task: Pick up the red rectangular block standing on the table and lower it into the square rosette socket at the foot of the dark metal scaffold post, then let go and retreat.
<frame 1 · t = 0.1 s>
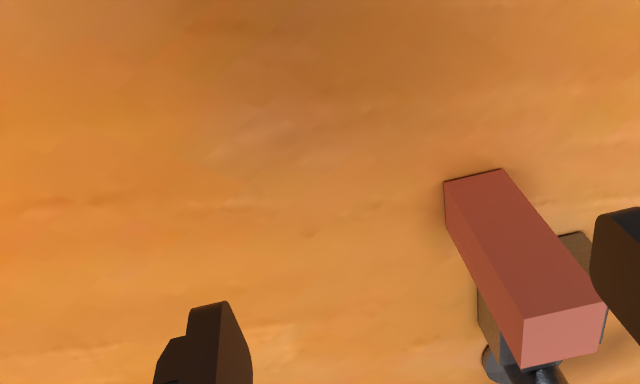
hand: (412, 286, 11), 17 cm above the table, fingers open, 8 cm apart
red rectangular block: (473, 199, 31), on the table
rosette post: (522, 352, 42), on the table
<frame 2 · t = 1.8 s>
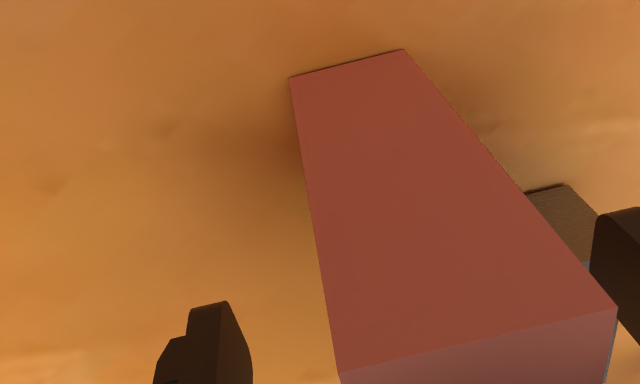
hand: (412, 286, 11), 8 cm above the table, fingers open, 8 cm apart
red rectangular block: (355, 116, 17), on the table
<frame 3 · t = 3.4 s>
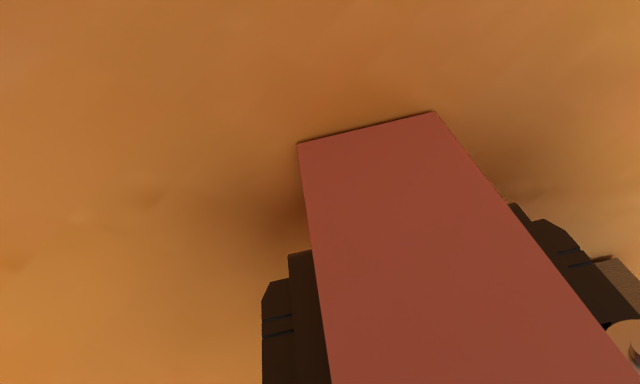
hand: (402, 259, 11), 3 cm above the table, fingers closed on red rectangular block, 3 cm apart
red rectangular block: (375, 186, 14), on the table, touching gripper
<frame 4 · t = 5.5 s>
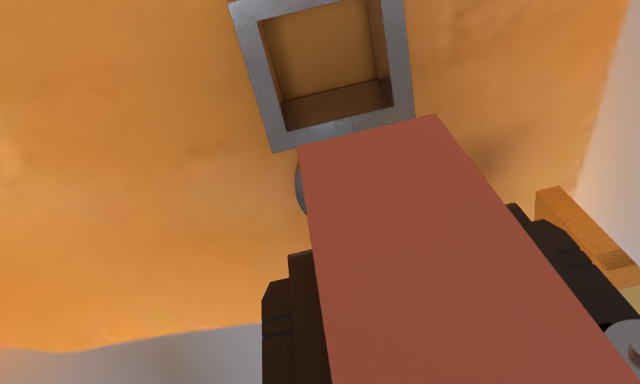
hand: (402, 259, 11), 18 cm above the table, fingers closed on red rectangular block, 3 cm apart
red rectangular block: (375, 188, 14), point 15 cm above the table, touching gripper
rosette post: (348, 179, 31), on the table
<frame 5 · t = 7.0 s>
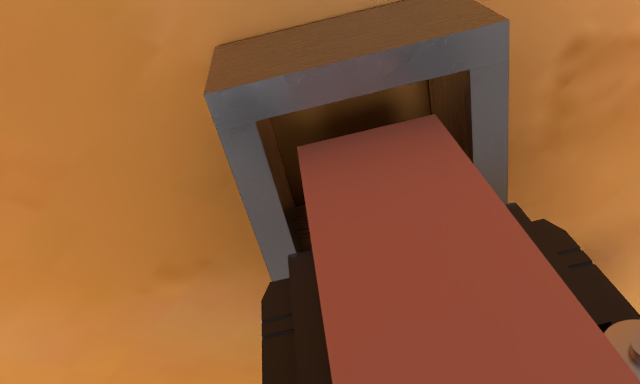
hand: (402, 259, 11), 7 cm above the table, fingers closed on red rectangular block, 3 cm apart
red rectangular block: (375, 188, 14), point 4 cm above the table, touching gripper
rosette post: (386, 300, 22), on the table
when the fingers open (5 cm above the table, at t = 8.1 s): red rectangular block drops 2 cm, resting in rosette post.
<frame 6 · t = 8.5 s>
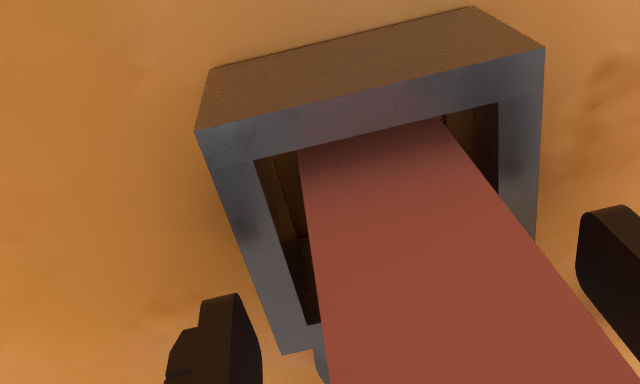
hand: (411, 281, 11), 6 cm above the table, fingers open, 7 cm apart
red rectangular block: (361, 153, 16), resting in rosette post
rosette post: (394, 335, 21), on the table
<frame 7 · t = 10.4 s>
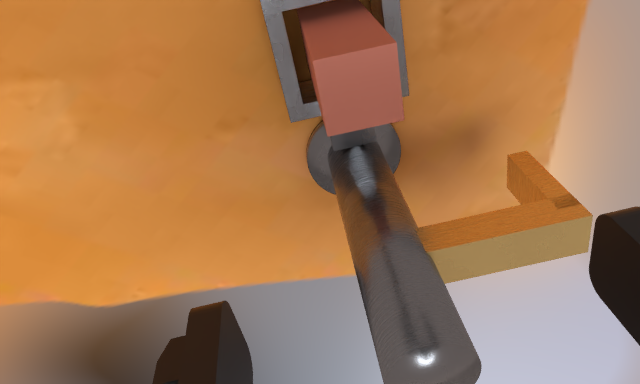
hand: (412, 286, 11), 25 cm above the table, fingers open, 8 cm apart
red rectangular block: (330, 32, 32), resting in rosette post
rosette post: (352, 151, 36), on the table
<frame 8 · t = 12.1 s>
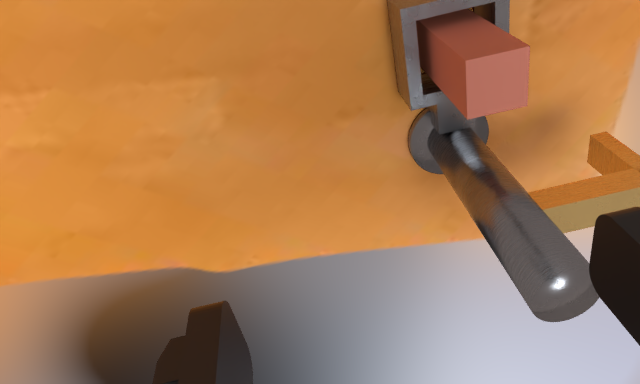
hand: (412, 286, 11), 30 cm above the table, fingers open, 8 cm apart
red rectangular block: (439, 35, 38), resting in rosette post
rosette post: (446, 135, 43), on the table
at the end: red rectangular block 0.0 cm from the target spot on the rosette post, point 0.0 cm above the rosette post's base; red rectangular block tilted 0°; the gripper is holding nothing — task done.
